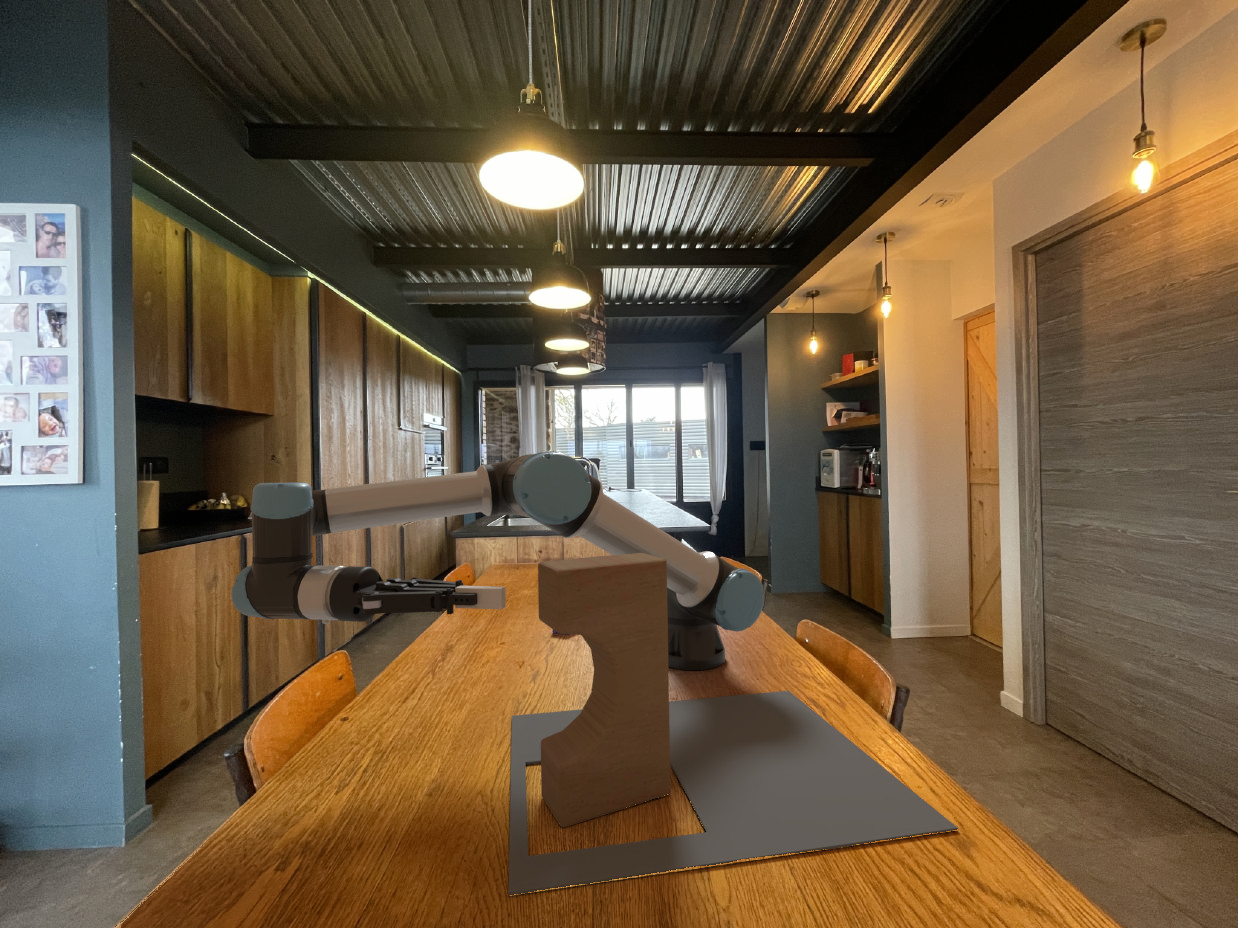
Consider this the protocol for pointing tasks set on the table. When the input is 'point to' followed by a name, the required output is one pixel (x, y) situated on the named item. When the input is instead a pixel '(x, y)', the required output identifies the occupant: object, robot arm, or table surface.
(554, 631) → the rubik's cube
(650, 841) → the mat
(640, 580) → the decorative block
